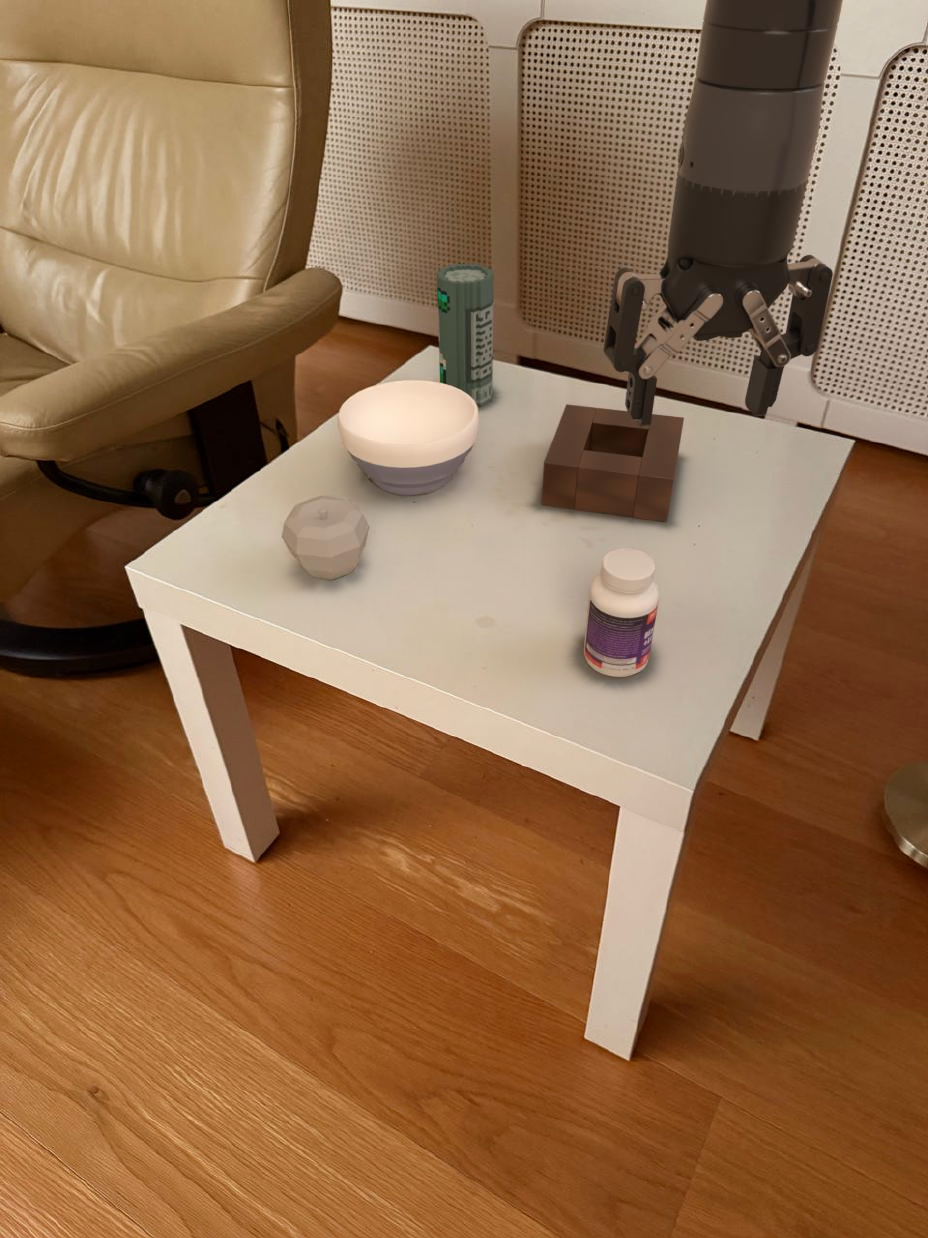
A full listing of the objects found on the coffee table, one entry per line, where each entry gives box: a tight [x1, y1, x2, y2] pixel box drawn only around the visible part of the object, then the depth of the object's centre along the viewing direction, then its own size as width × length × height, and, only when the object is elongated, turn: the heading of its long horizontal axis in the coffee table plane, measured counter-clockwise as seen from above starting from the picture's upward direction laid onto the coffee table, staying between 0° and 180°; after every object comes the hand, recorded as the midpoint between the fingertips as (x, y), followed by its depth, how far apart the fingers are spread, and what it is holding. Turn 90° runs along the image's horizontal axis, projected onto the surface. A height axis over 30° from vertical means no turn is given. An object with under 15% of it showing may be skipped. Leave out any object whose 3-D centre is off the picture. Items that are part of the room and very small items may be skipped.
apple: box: [281, 495, 370, 580], centre depth 80 cm, size 8×8×7 cm
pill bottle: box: [583, 547, 660, 678], centre depth 70 cm, size 5×5×10 cm
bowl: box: [337, 379, 480, 496], centre depth 92 cm, size 14×14×8 cm
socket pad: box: [541, 404, 685, 523], centre depth 92 cm, size 13×13×5 cm
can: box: [436, 263, 495, 408], centre depth 103 cm, size 6×6×15 cm
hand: (698, 416), depth 63 cm, fingers open, 8 cm apart
